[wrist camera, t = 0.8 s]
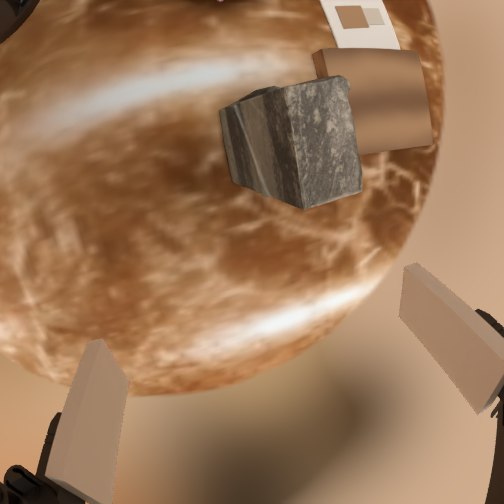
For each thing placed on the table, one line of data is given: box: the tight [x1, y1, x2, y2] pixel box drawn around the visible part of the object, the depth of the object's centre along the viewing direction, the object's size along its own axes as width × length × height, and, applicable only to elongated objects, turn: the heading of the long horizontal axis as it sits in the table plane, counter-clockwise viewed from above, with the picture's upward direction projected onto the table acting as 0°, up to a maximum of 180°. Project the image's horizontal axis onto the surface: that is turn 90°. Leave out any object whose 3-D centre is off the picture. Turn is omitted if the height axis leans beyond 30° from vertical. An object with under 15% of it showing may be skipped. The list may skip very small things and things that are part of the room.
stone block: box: [219, 75, 363, 210], centre depth 23 cm, size 9×14×5 cm
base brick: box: [312, 48, 433, 155], centre depth 28 cm, size 12×13×3 cm
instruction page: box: [319, 0, 400, 50], centre depth 24 cm, size 12×9×1 cm
